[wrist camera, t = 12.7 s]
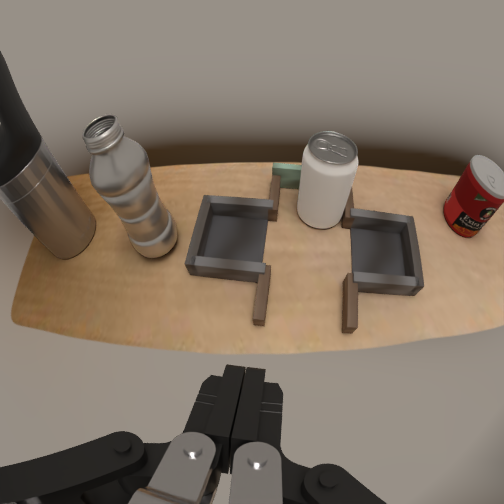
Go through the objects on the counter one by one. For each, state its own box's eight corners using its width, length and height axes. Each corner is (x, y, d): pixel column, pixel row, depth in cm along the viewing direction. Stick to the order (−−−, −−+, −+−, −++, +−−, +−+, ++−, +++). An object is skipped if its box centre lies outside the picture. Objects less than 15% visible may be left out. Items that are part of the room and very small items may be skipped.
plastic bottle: (181, 219, 41) (138, 98, 24) (181, 261, 38) (124, 140, 20) (139, 225, 41) (80, 115, 24) (135, 267, 38) (59, 159, 20)
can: (306, 188, 43) (314, 123, 33) (346, 203, 41) (366, 140, 31) (289, 220, 40) (295, 153, 30) (333, 237, 39) (354, 174, 28)
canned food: (449, 237, 38) (484, 192, 28) (436, 196, 42) (463, 149, 32) (482, 240, 37) (518, 199, 28) (469, 201, 41) (497, 159, 32)
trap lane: (181, 314, 34) (171, 303, 31) (216, 178, 45) (212, 159, 41) (416, 335, 31) (431, 326, 28) (399, 197, 42) (408, 180, 38)
